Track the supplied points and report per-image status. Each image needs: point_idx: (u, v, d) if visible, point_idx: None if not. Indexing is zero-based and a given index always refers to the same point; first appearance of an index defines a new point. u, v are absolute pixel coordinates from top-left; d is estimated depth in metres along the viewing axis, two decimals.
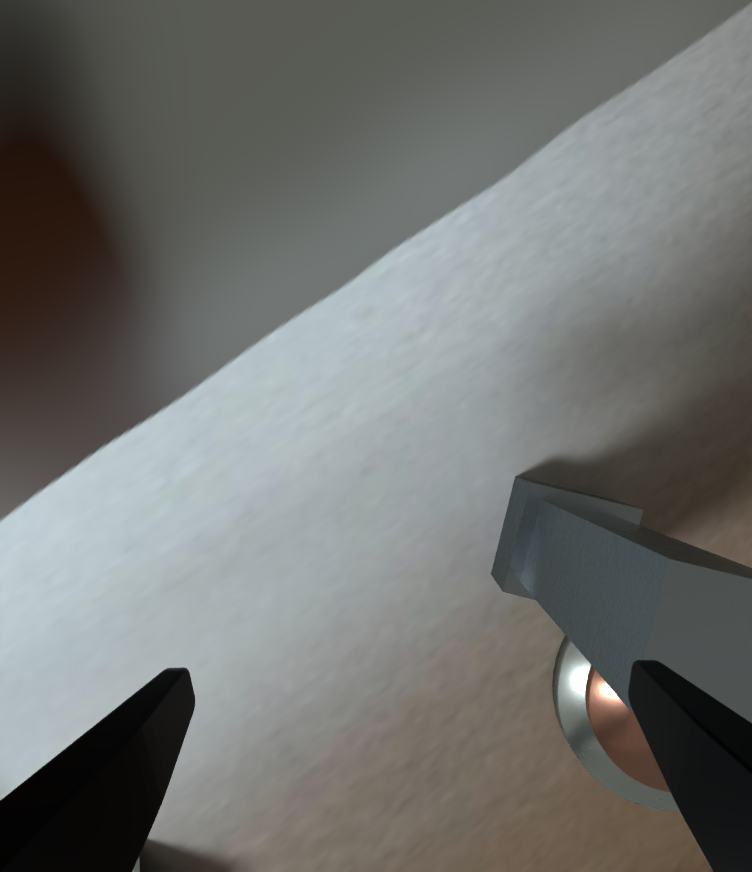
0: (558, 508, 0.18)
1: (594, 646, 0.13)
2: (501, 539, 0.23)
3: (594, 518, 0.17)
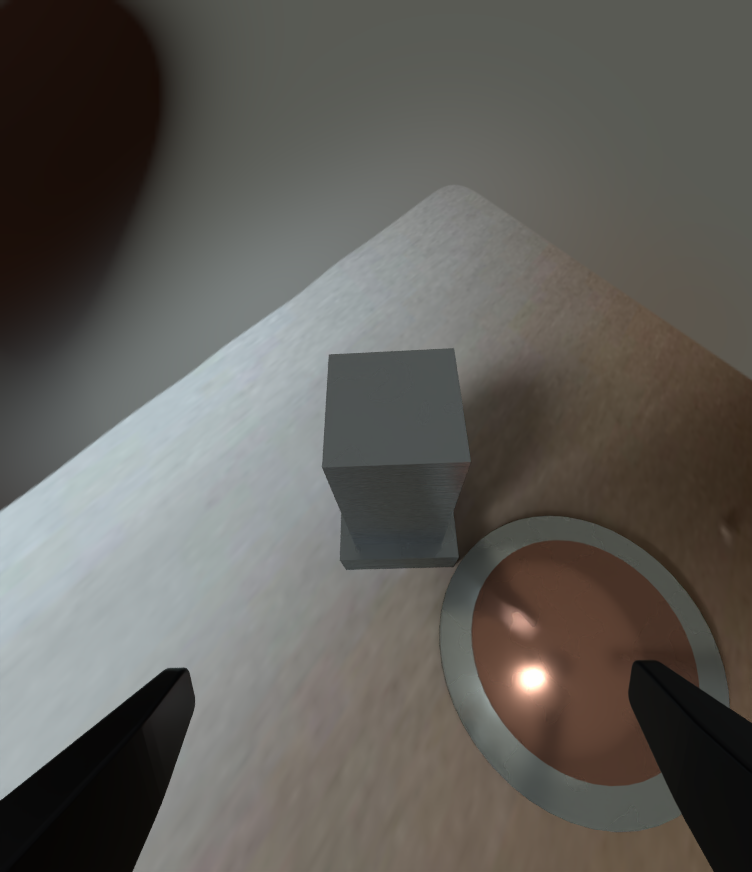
0: None
1: None
2: None
3: None
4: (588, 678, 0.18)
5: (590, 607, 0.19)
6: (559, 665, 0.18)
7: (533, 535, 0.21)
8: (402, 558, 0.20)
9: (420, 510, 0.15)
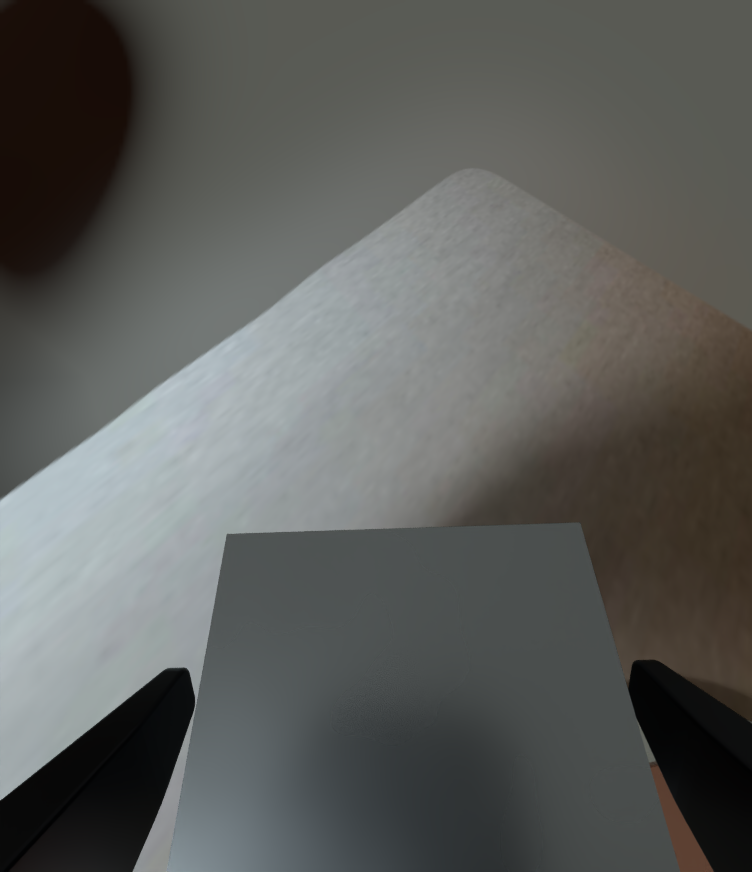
0: None
1: None
2: None
3: None
4: None
5: None
6: None
7: (643, 742, 0.12)
8: None
9: None
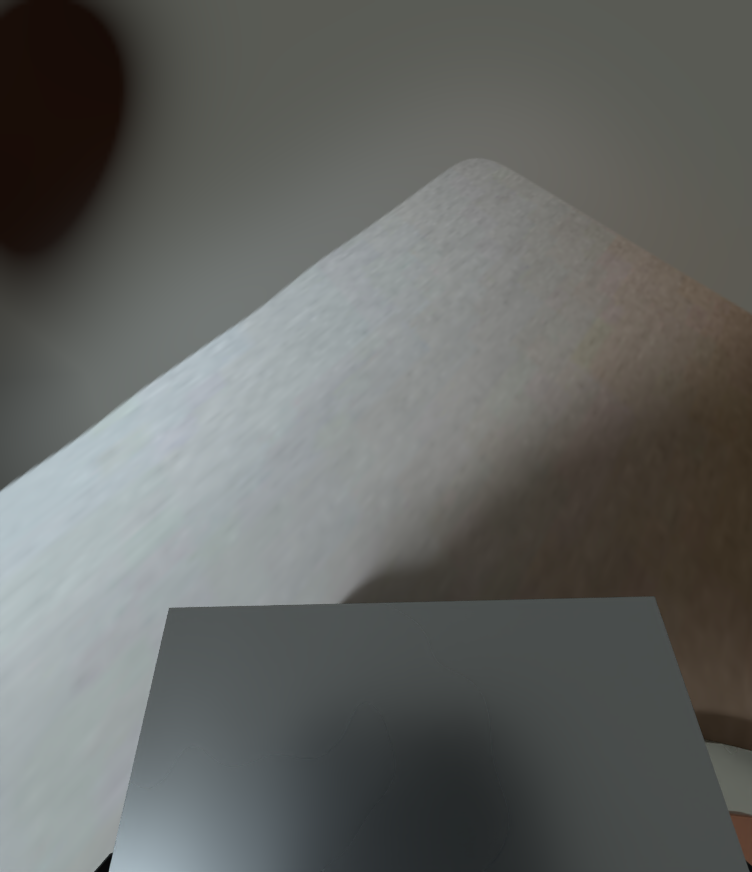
0: None
1: None
2: None
3: None
4: None
5: None
6: None
7: None
8: None
9: None
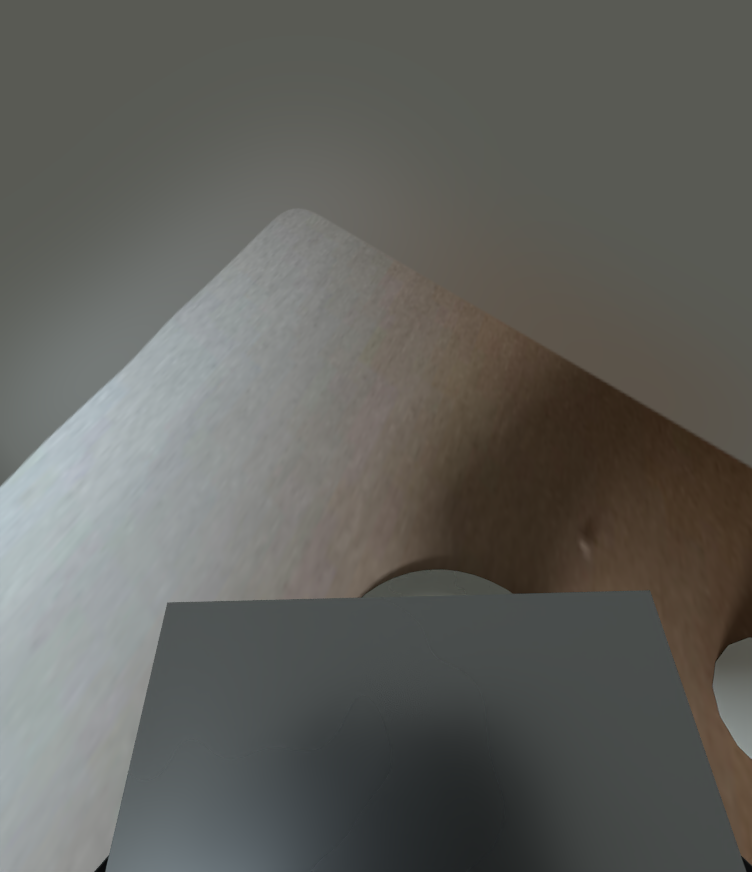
0: None
1: None
2: None
3: None
4: None
5: None
6: None
7: None
8: None
9: None
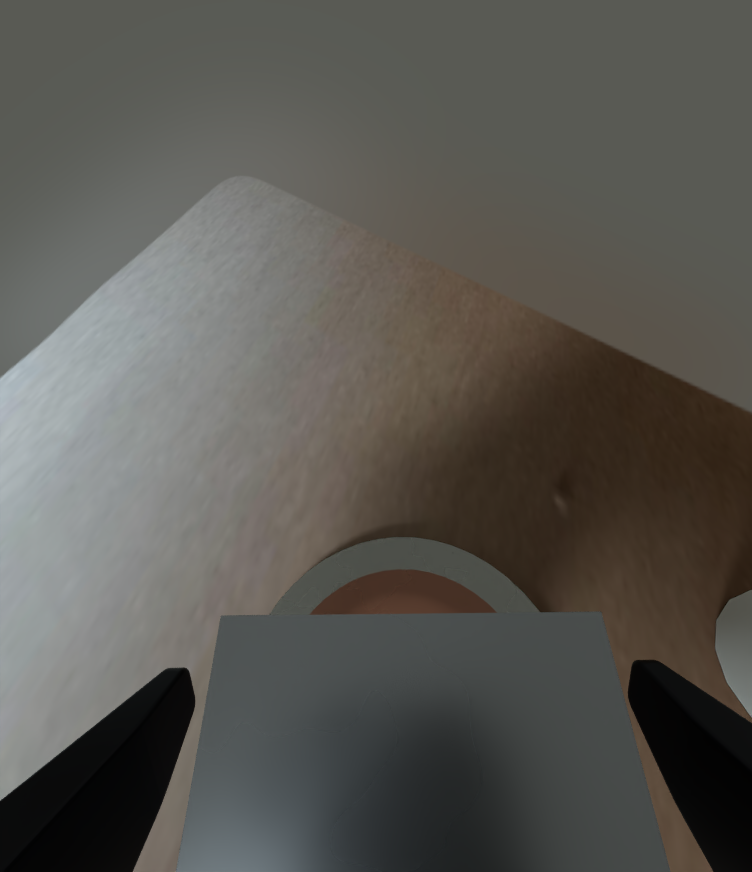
0: None
1: None
2: None
3: None
4: None
5: None
6: None
7: (343, 574, 0.17)
8: None
9: None
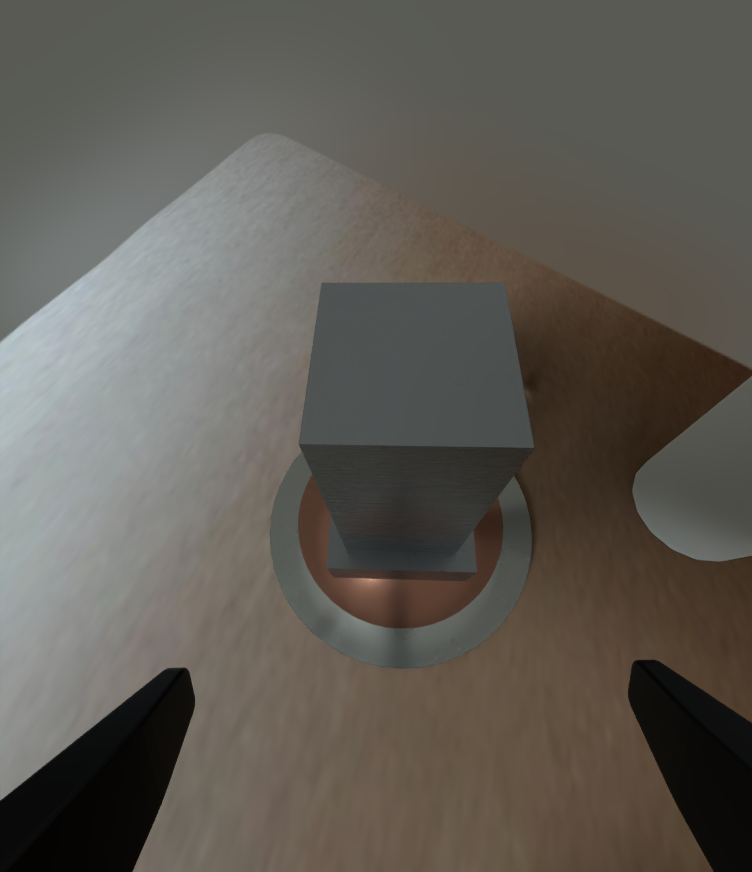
0: None
1: None
2: None
3: None
4: None
5: None
6: None
7: None
8: (405, 570, 0.15)
9: (437, 514, 0.11)
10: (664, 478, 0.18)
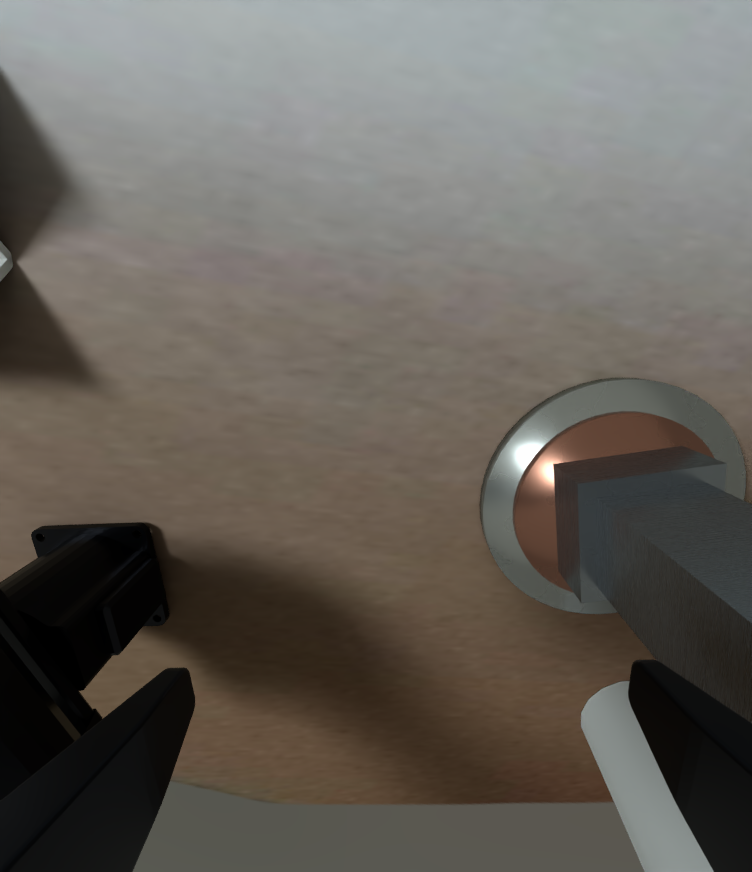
0: None
1: None
2: (604, 459, 0.18)
3: None
4: None
5: None
6: None
7: (715, 447, 0.19)
8: (579, 548, 0.17)
9: (681, 655, 0.12)
10: None
